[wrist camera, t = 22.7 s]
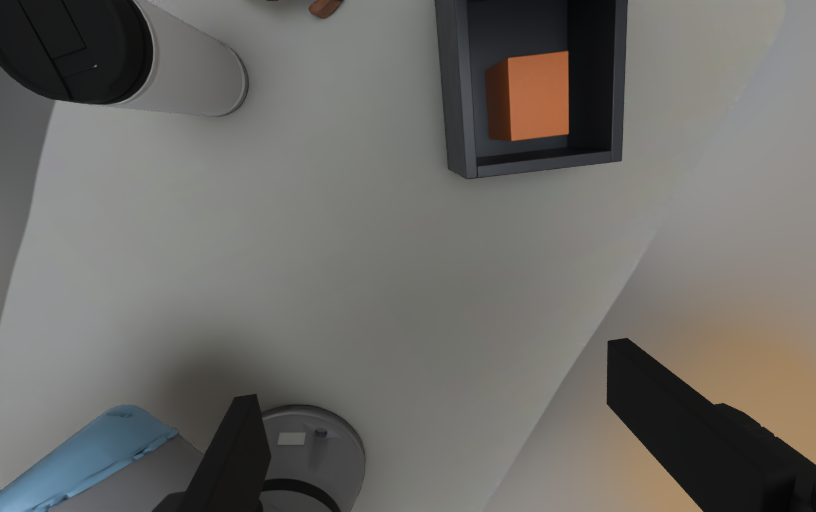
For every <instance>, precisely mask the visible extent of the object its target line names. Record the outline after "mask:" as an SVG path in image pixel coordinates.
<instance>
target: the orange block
mask: <svg viewBox="0 0 816 512" xmlns="http://www.w3.org/2000/svg"><path fill="white" fill-rule="evenodd" d="M485 78H486V96H487V113H488V130H489V139H490V140H503V141H517V140H525V139H533V138H542V137H550V136H558V135H566V134H569V77H568V51H562V52H553V53H545V54H536V55H527V56H519V57H510V58H507V59H505V60H503V61H502V62H500V63H498V64H496V65H495V66H493V67H491V68H489V69H488V70H486V71H485Z"/></svg>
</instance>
